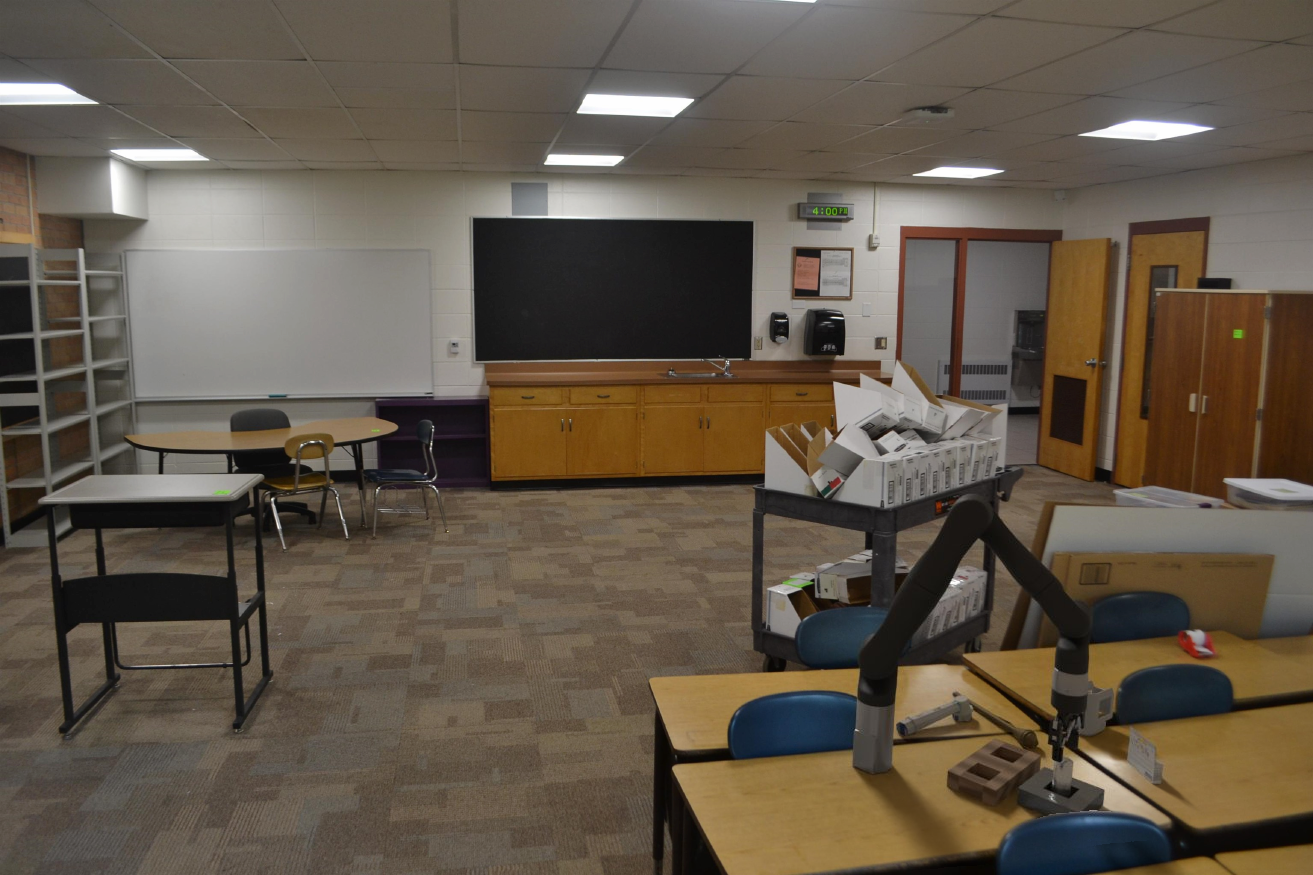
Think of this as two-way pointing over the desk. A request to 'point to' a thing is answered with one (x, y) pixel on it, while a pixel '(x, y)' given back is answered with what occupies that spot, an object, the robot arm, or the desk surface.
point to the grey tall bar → (1062, 777)
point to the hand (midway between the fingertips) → (1064, 754)
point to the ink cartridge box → (1144, 758)
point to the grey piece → (936, 716)
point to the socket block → (1046, 802)
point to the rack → (993, 771)
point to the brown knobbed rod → (1008, 726)
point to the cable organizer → (1097, 709)
